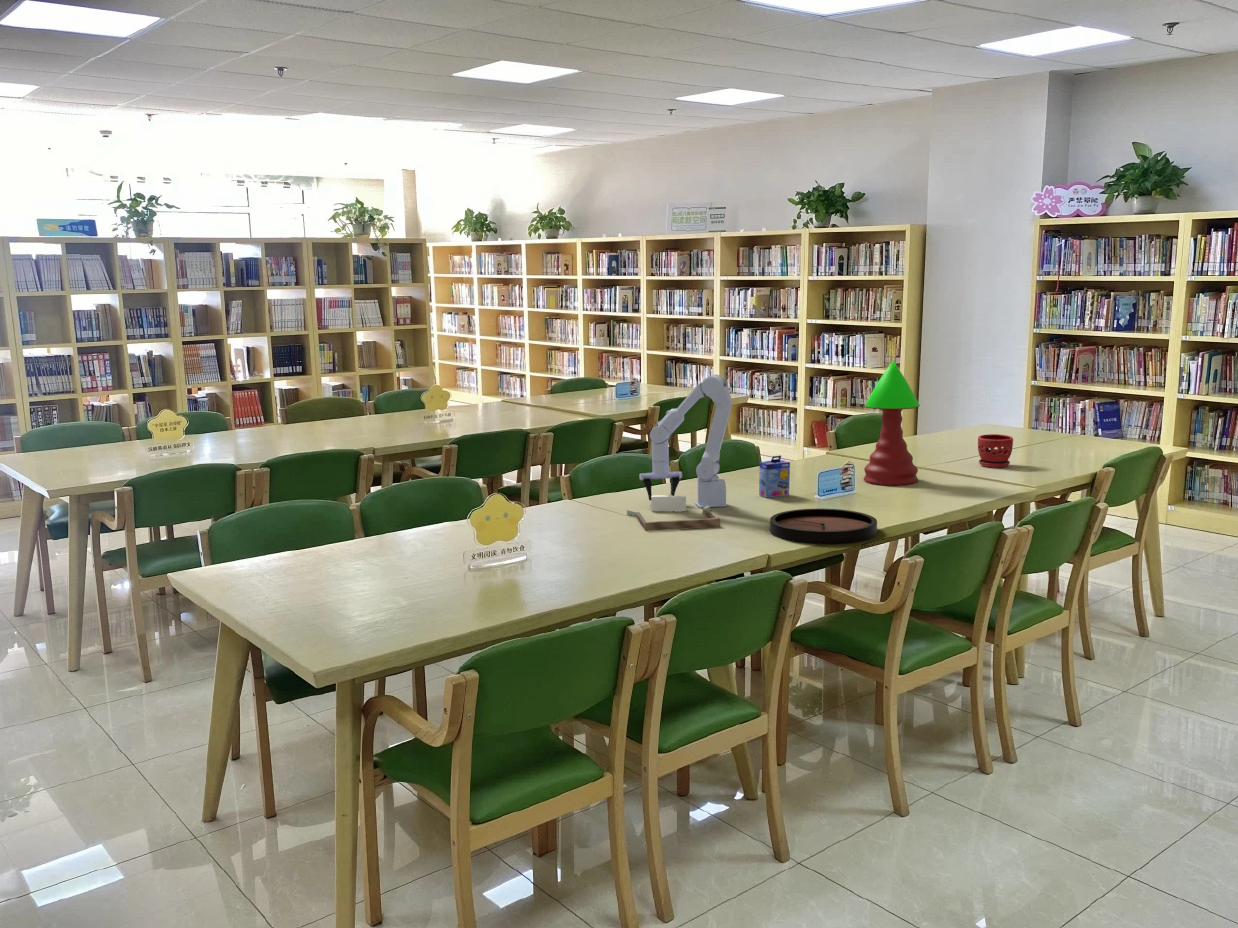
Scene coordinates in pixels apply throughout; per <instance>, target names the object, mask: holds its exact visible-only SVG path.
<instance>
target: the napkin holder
mask: <svg viewBox="0 0 1238 928" xmlns="http://www.w3.org/2000/svg"><path fill="white" fill-rule="evenodd" d="M650 502H651V512H672V511H675V513H676V512H678V511H679V512H681V513H682V511H686V512H687V497H686V495H674V496H672V495H671V494H668V495H667V494H665V495H664V494H663V495H661V494H660V495H659V494H658V495H656V494H655V495H652V496H651V501H650ZM679 512H678V513H679Z"/></svg>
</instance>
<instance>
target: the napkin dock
mask: <svg viewBox="0 0 1238 928" xmlns="http://www.w3.org/2000/svg"><path fill="white" fill-rule="evenodd" d="M711 510H712V507H711V506H706V507H703V508H702V515H704V516H705V517H706V518H695V519H680V520H679V519H677V520H658V521H646V520H645V517H643V515H642V514H641V512H640V511H635V510H632V509H627V510H626V515H627V516H630V515H632V517H635V518H636V519H637V521H638V522H639V524H640V525H641V527H642V528H643V529H644V531H645V532H646V531H647V532H652V531H653V532H654V531H668V530H686V529H702V528H704V529H705V528H720V527H721V518H720V517H716V516H715V515H713V513H711Z"/></svg>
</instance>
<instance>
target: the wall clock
mask: <svg viewBox="0 0 1238 928" xmlns="http://www.w3.org/2000/svg"><path fill="white" fill-rule="evenodd" d="M769 533H770V534H771V535H772V536H773V537H775V538H778V539H779V540H780V539H781V540H784V541H787V542H792V543H799V544H805V545H822V546H823V545H824V546H826V545H830V546H831V545H849V544H856V543H857V544H858V543H861V542H865V541H869V540H872V539H874V538H875V537H876V536H877V534H878V520H877V518H875V517H874V516H872V515H869V514H868V513H864V512H860V511H854V510H847V509H839V508H801V509H792V510H791V509H790V510H786V511H780V512H779V513H775V514H773V515H772V516H770V519H769Z"/></svg>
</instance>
